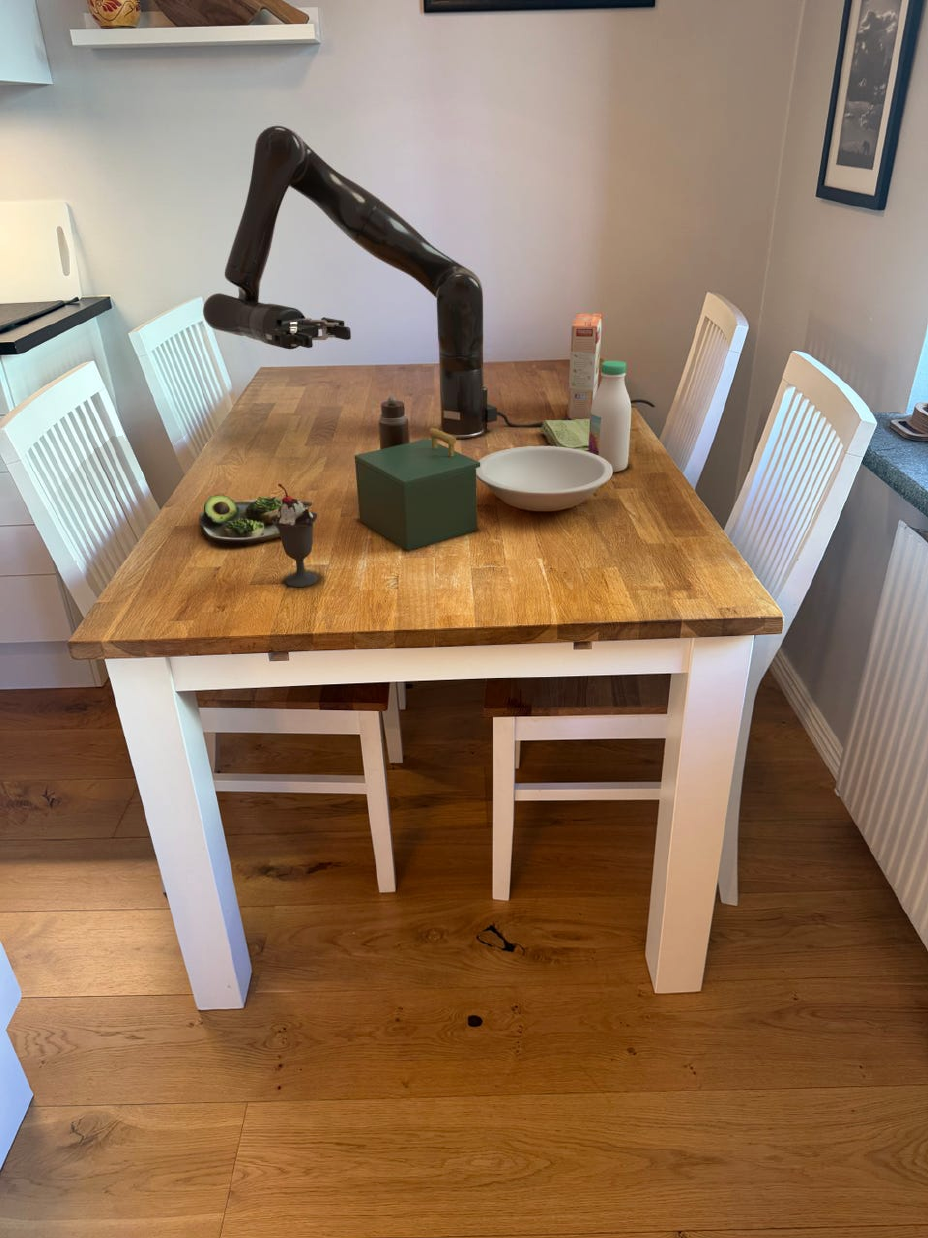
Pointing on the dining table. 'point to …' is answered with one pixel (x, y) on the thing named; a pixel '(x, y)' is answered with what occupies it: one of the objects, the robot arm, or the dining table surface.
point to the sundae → (296, 537)
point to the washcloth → (567, 433)
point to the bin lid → (418, 460)
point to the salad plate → (240, 520)
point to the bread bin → (417, 507)
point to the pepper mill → (393, 424)
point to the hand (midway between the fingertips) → (330, 337)
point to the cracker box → (584, 364)
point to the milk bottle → (611, 417)
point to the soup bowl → (543, 476)
